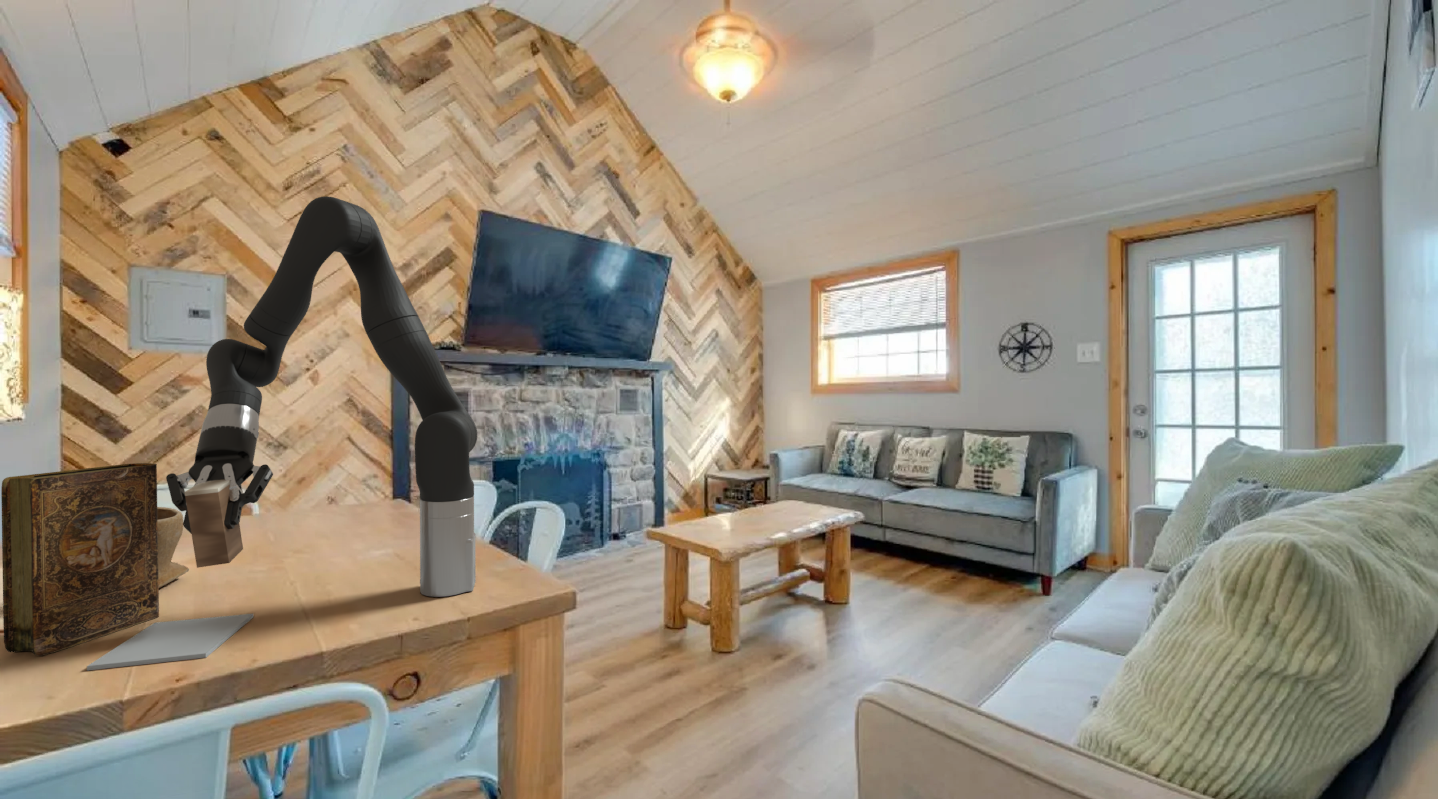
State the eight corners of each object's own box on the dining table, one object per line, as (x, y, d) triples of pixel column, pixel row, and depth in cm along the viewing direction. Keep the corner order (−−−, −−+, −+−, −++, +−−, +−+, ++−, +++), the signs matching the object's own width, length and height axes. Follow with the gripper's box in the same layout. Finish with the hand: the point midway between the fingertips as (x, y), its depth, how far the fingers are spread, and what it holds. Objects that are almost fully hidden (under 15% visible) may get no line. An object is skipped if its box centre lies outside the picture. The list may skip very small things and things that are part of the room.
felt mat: (253, 617, 97) (253, 613, 97) (206, 657, 83) (205, 653, 83) (154, 626, 93) (154, 622, 93) (87, 670, 79) (86, 666, 79)
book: (140, 611, 99) (137, 462, 98) (166, 614, 98) (163, 463, 97) (3, 655, 83) (-1, 477, 82) (33, 659, 82) (29, 479, 81)
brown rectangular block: (243, 549, 97) (232, 478, 96) (229, 563, 92) (217, 488, 90) (213, 553, 96) (201, 481, 94) (197, 567, 90) (184, 492, 89)
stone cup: (156, 601, 104) (155, 516, 103) (74, 606, 101) (72, 518, 101) (210, 573, 119) (209, 499, 118) (139, 577, 116) (138, 501, 116)
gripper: (165, 428, 95) (139, 525, 86) (272, 420, 100) (258, 511, 91) (186, 453, 101) (163, 547, 91) (286, 444, 106) (274, 532, 97)
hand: (210, 528), depth 91 cm, fingers closed on brown rectangular block, 4 cm apart
